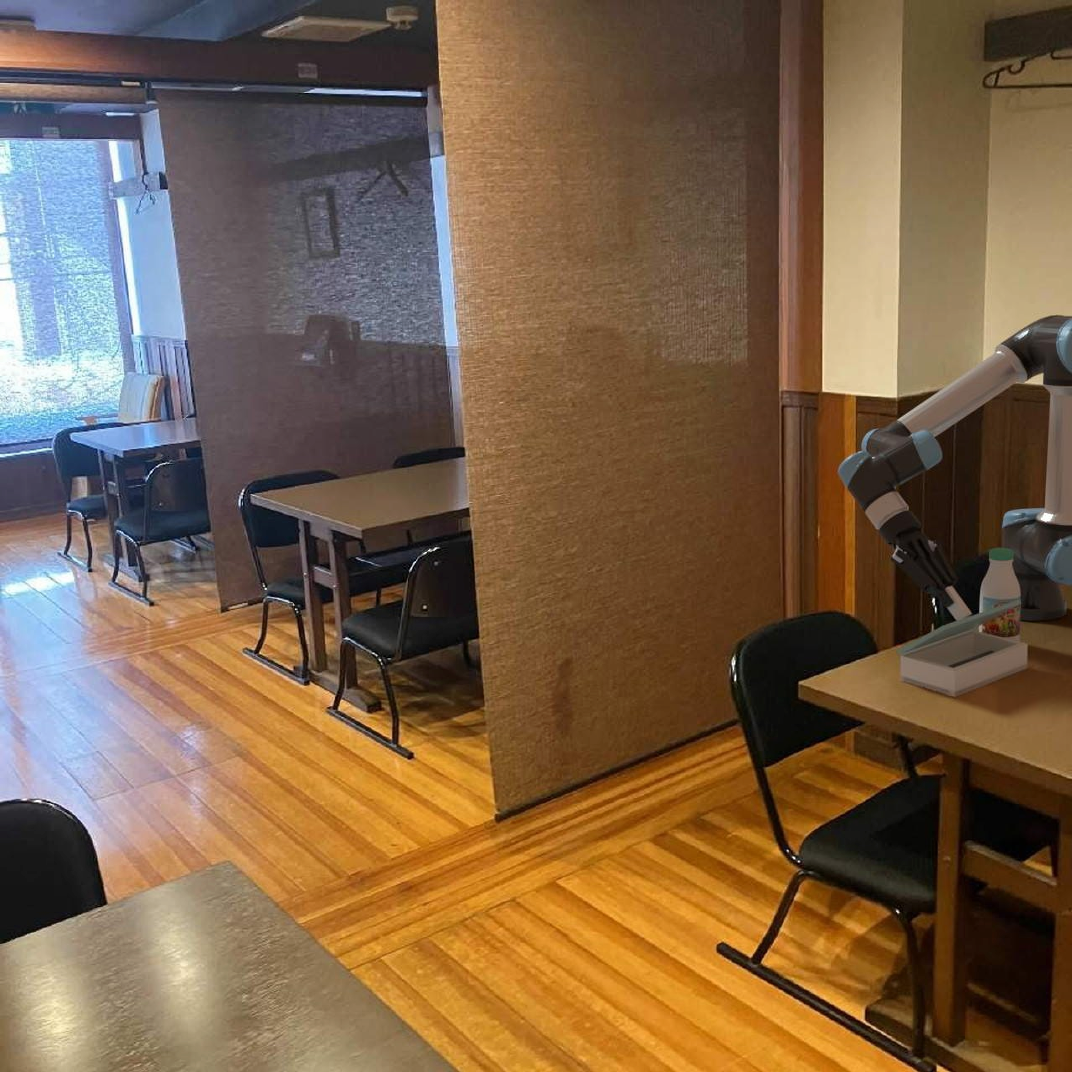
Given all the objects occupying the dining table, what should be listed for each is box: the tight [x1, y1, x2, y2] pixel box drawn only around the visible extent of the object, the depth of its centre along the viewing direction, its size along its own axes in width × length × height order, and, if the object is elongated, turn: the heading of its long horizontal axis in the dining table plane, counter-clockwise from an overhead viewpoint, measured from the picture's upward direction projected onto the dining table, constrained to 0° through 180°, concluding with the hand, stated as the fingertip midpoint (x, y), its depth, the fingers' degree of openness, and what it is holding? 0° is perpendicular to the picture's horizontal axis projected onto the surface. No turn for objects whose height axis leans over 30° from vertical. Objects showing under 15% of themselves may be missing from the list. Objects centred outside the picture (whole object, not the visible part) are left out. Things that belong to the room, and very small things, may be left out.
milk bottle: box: [978, 547, 1021, 642], centre depth 232 cm, size 8×8×20 cm
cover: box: [896, 600, 1021, 656], centre depth 219 cm, size 23×13×1 cm
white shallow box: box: [900, 629, 1028, 698], centre depth 219 cm, size 22×12×5 cm, turn 124°
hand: (965, 618), depth 217 cm, fingers closed
